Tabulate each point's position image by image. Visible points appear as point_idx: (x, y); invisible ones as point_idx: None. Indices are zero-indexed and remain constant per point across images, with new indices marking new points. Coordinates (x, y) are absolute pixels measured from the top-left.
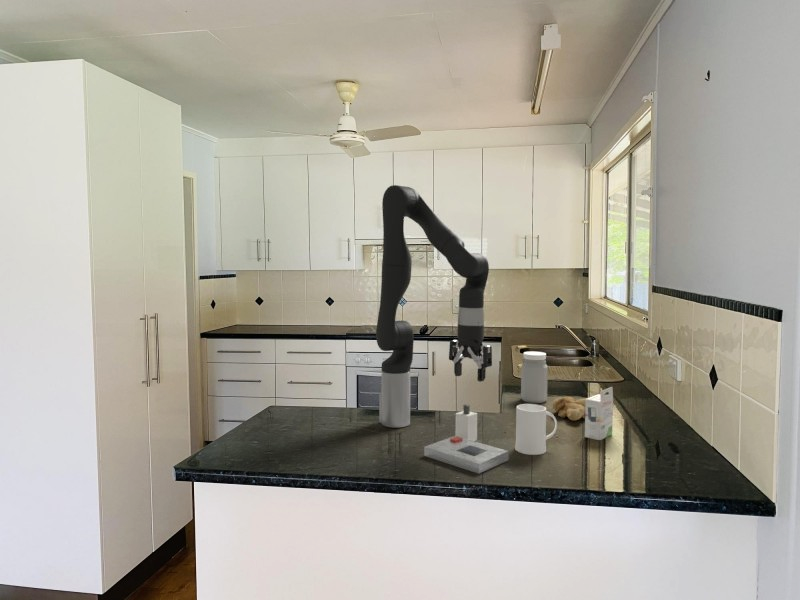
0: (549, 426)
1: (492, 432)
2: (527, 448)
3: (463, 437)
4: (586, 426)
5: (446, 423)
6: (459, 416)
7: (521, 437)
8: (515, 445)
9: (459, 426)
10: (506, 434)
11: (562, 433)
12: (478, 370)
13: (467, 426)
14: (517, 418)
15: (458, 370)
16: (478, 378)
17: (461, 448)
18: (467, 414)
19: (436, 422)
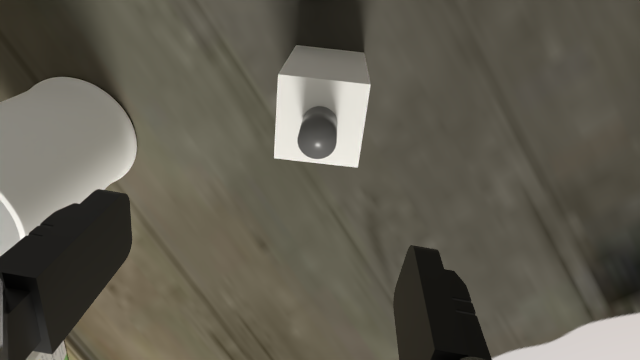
0: (191, 356)
1: (295, 220)
2: (37, 86)
3: (317, 51)
4: (32, 353)
5: (502, 216)
6: (341, 78)
7: (37, 99)
8: (112, 110)
9: (341, 65)
10: (244, 228)
11: (124, 323)
12: (40, 260)
13: (288, 61)
14: (13, 143)
15: (412, 303)
16: (97, 202)
17: None
18: (301, 105)
19: (547, 205)
